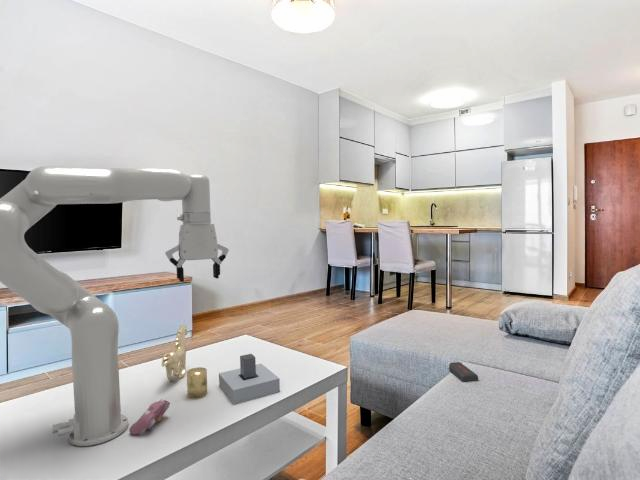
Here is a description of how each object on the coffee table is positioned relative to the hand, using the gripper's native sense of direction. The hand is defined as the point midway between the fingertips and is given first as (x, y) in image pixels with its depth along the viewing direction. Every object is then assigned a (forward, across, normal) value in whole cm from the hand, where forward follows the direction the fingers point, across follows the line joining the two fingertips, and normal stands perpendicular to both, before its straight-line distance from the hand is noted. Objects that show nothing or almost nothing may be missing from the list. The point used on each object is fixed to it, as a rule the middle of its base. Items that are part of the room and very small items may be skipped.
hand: (199, 279), depth 106 cm
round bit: (+34, -1, +3) cm, 35 cm away
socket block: (+34, +13, -2) cm, 37 cm away
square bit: (+34, +13, -2) cm, 37 cm away
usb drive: (+35, +74, -30) cm, 88 cm away
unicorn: (+34, -4, +18) cm, 39 cm away
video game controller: (+35, -15, -8) cm, 38 cm away
